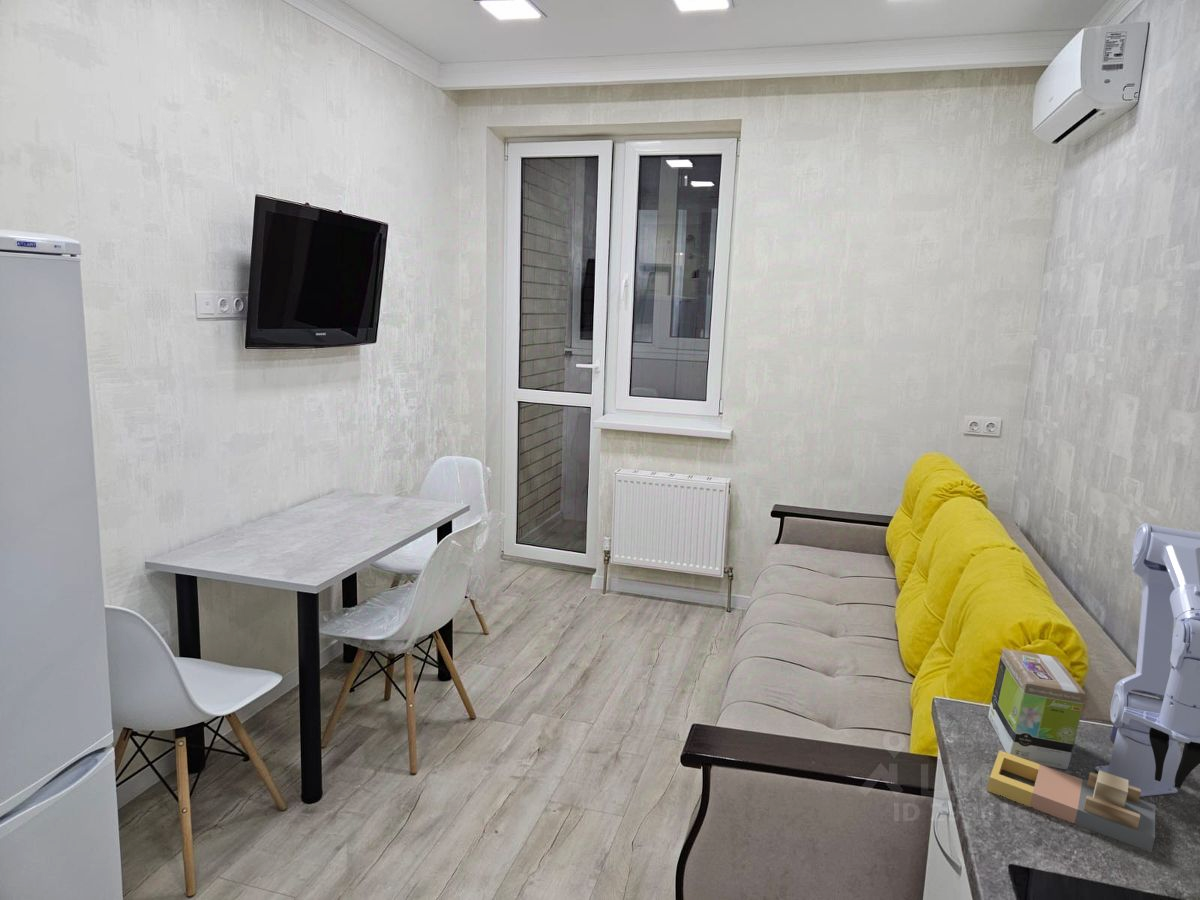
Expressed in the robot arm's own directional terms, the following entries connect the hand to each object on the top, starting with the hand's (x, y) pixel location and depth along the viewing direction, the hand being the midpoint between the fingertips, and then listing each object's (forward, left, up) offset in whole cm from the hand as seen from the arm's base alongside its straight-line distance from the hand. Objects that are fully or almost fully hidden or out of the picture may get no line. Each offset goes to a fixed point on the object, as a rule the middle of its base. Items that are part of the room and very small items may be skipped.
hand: (1167, 781), depth 122 cm
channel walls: (+4, -4, -7) cm, 9 cm away
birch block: (+4, -5, -7) cm, 9 cm away
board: (+8, -9, -9) cm, 15 cm away
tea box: (+1, -25, -10) cm, 27 cm away
